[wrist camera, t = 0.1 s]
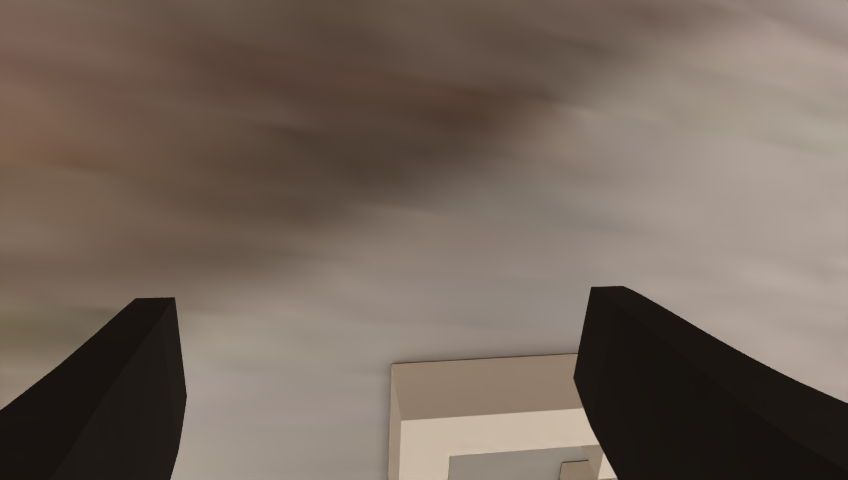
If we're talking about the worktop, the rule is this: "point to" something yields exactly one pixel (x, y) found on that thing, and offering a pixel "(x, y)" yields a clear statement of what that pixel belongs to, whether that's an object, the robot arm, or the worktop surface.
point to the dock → (487, 414)
